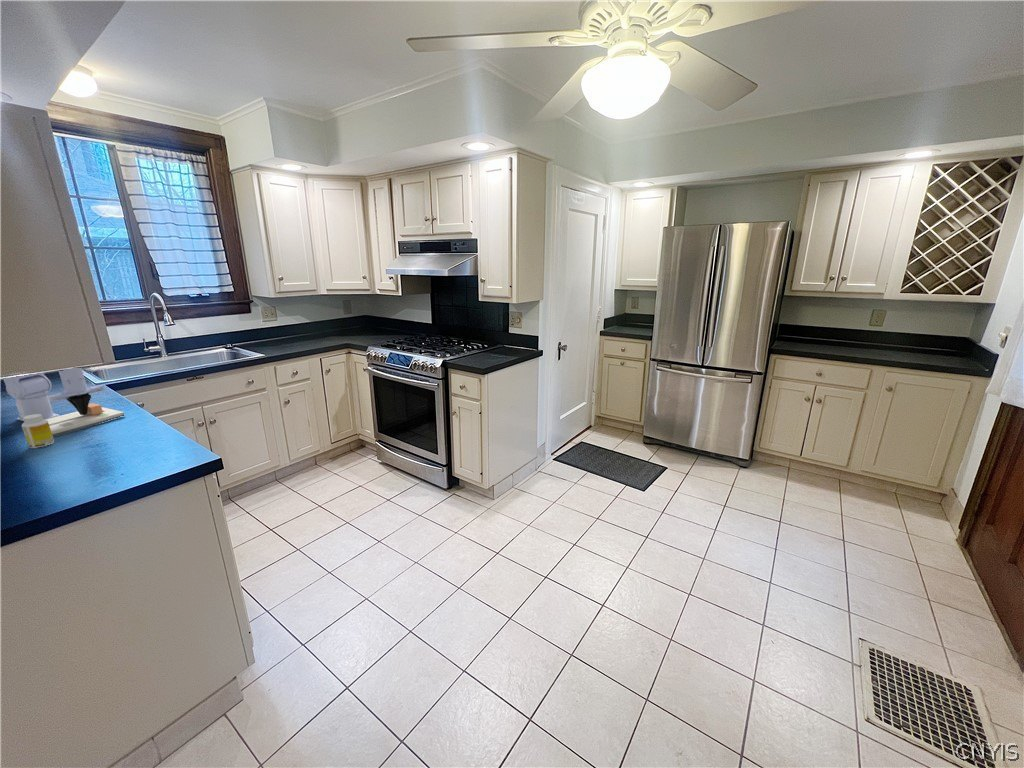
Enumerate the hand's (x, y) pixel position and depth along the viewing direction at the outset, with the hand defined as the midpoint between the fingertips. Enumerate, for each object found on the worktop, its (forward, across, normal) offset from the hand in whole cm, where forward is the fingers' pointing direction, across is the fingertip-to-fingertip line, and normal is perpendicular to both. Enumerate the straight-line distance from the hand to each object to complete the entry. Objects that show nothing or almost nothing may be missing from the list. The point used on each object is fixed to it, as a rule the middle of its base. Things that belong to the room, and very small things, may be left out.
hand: (83, 414), depth 150 cm
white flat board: (+3, -2, 0) cm, 3 cm away
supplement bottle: (+3, -17, -13) cm, 22 cm away
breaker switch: (+1, +3, 0) cm, 3 cm away
